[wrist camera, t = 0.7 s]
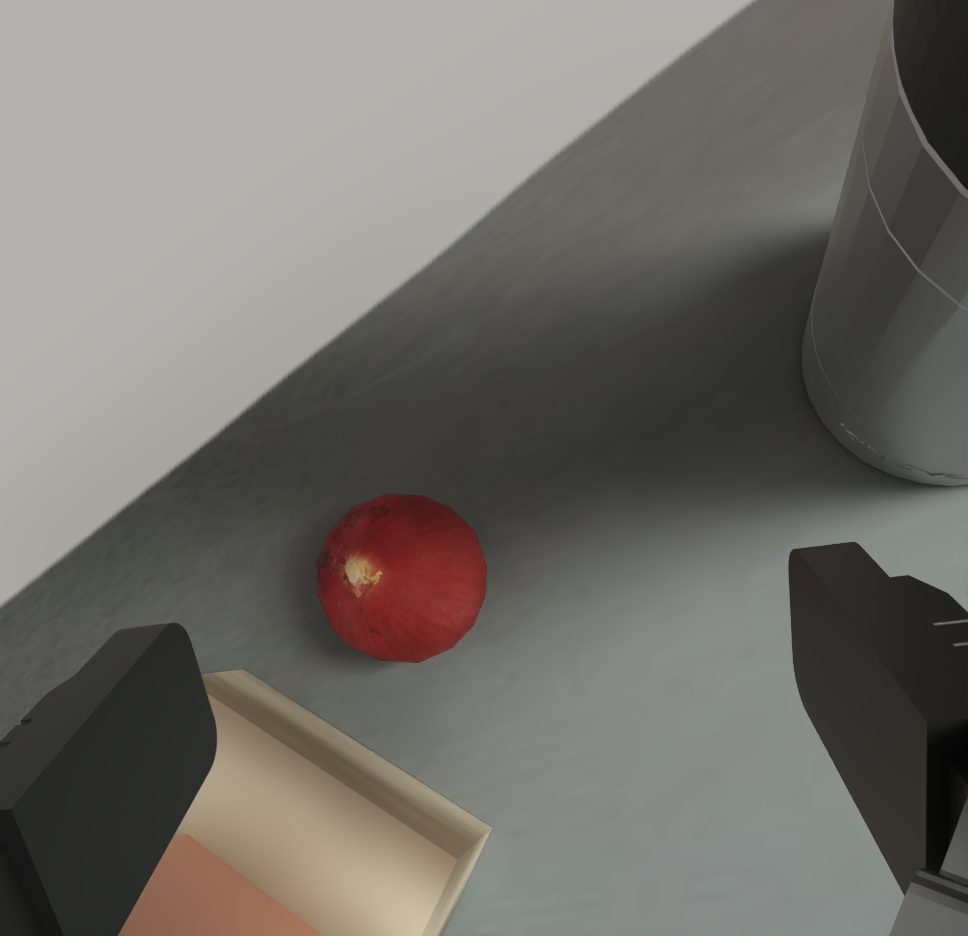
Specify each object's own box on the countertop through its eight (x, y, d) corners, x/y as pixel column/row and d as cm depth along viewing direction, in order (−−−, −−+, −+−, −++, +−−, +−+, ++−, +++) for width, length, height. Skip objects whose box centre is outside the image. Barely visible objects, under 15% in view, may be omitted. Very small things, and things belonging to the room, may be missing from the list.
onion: (348, 619, 32) (233, 621, 25) (403, 486, 33) (306, 448, 25) (475, 681, 31) (392, 703, 23) (532, 540, 31) (469, 516, 23)
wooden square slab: (243, 669, 33) (181, 676, 30) (492, 828, 29) (457, 859, 26) (113, 935, 33) (34, 977, 29) (347, 1133, 29) (290, 1210, 25)
